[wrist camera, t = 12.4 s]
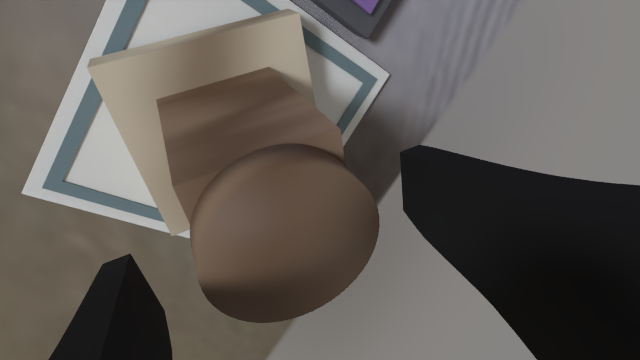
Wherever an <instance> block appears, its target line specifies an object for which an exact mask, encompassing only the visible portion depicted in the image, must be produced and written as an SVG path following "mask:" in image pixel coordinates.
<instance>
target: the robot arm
mask: <svg viewBox="0 0 640 360" xmlns="http://www.w3.org/2000/svg"><path fill="white" fill-rule="evenodd" d="M400 160H401V177H402V195H403V210H404V212H405V213H406V214H407V216H408V217H409V219H410V220H411V221H412V222H413V224H414V225H415V226H416V228H417V229H418V230H419V232H420V233H421V234H422V235H423V237H424V238H425V239H426V240H427V241H428V242H429V243H430V244H431V245H432V246H433V247H434V248H435V249H436V250H437V251H438V252H439V253H440V254H441V255H442V256H443V257H444V258H445V259H446V260H447V261H448V262H449V263H451V264H452V265H453V266H454V267H455V268H456V269H457V270H458V271H459V272H460V273H461V274H462V275H463V276H464V277H465V278H466V279H467V280H468V281H469V282H470V283H471V284H472V285H473V286H474V287H475V288H476V289H477V290H478V291H479V292H481V294H482V295H483V296H484V297H485V298H486V299H487V300H488V301H489V302H490V303H491V304H492V305H493V306H494V308H495V309H496V310H497V311H498V312H499V314H500V315H501V316H502V317H503V318H504V320H505V321H506V322H507V323H508V324H509V325H510V327H511V328H512V329H513V330H514V331H515V333H516V334H517V335H518V336H519V337H520V339H521V340H522V341H523V343H524V344H525V345H526V346H527V348H528V349H529V350H530V351H531V353H532V354H533V355H534V356H535V358H536V359H537V360H640V186H639V185H627V184H614V183H605V182H595V181H588V180H581V179H574V178H567V177H560V176H554V175H548V174H543V173H538V172H533V171H528V170H523V169H518V168H514V167H509V166H505V165H501V164H497V163H492V162H488V161H484V160H480V159H477V158H473V157H469V156H464V155H461V154H457V153H453V152H449V151H445V150H441V149H437V148H433V147H428V146H422V145H418V146H415V147H412V148H410V149H407V150H404V151H402V152H400ZM49 360H172V348H171V342H170V336H169V331H168V326H167V321H166V316H165V311H164V309H163V307H162V306H161V304H160V302H159V301H158V299H157V297H156V296H155V294H154V292H153V291H152V289H151V287H150V286H149V284H148V282H147V281H146V279H145V277H144V276H143V274H142V272H141V271H140V269H139V267H138V266H137V264H136V262H135V261H134V259H133V257H132V256H131V254H128V255H125V256H123V257H120V258H118V259H115V260H112V261H110V262H107V263H104V264H103V265H102V266H101V268H100V270H99V272H98V273H97V275H96V277H95V279H94V281H93V283H92V284H91V286H90V288H89V290H88V292H87V294H86V295H85V297H84V299H83V301H82V303H81V305H80V306H79V308H78V310H77V312H76V314H75V316H74V317H73V319H72V321H71V323H70V324H69V326H68V328H67V330H66V331H65V333H64V335H63V337H62V338H61V340H60V342H59V344H58V345H57V347H56V349H55V350H54V352H53V353H52V355H51V357H50V358H49Z"/></svg>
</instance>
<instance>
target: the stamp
mask: <svg viewBox="0 0 640 360" xmlns="http://www.w3.org/2000/svg"><path fill="white" fill-rule="evenodd" d="M87 69H88V71H89V73H90V75H91V77H92V79H93V81H94V83H95V85H96V87H97V89H98V91H99V93H100V95H101V97H102V99H103V101H104V103H105V105H106V107H107V109H108V111H109V113H110V115H111V117H112V119H113V121H114V123H115V125H116V127H117V129H118V131H119V133H120V135H121V137H122V139H123V141H124V143H125V144H126V146H127V148H128V150H129V152H130V154H131V156H132V158H133V160H134V162H135V164H136V166H137V168H138V170H139V172H140V174H141V176H142V178H143V180H144V182H145V184H146V186H147V188H148V190H149V192H150V194H151V196H152V198H153V200H154V202H155V204H156V206H157V208H158V210H159V212H160V214H161V216H162V218H163V220H164V222H165V224H166V226H167V228H168V230H169V232H170V234H171V236H174V235H177V234H179V233H182V232H185V231H187V230H190V242H191V247H192V252H193V257H194V261H195V266H196V271H197V275H198V280H199V283H200V286H201V289H202V291H203V293H204V294H205V296H206V298H207V299H208V300H209V301H210V303H211V304H212V305H213V306H214V307H216V308H217V309H218V310H220V311H221V312H222V313H224V314H226V315H228V316H230V317H233V318H236V319H238V320H243V321H247V322H256V323H270V322H278V321H284V320H288V319H292V318H296V317H299V316H302V315H304V314H306V313H309V312H311V311H314V310H315V309H317V308H319V307H321V306H323V305H324V304H326V303H328V302H329V301H331V300H332V299H334V298H335V297H336V296H338V295H339V294H340V293H341V292H343V291H344V290H345V289H346V288H347V287H348V286H349V285H350V284H351V283H352V282H353V281H354V280H355V279H356V278H357V277H358V275H359V274H360V273H361V272H362V270H363V269H364V267H365V266H366V264H367V263H368V261H369V259H370V257H371V255H372V253H373V250H374V248H375V245H376V241H377V238H378V232H379V214H378V208H377V205H376V202H375V200H374V198H373V196H372V194H371V193H370V191H369V190H368V189H367V188H366V187H365V185H364V184H363V183H362V182H361V181H360V180H359V179H358V178H357V177H356V176H355V175H354V174H353V173H352V172H351V171H350V170H349V169H348V168H347V167H346V165H345V158H344V151H343V144H342V137H341V130H340V128H339V127H337V126H336V125H335V124H334V123H333V122H332V121H331V120H329V119H328V118H327V117H326V116H325V115H324V114H322V113H321V112H320V111H319V110H318V109H317V108H316V105H315V99H314V94H313V88H312V82H311V77H310V71H309V65H308V60H307V54H306V48H305V43H304V37H303V31H302V25H301V20H300V14H299V13H298V12H296V11H293V10H291V9H284V10H280V11H276V12H272V13H268V14H264V15H260V16H256V17H252V18H248V19H244V20H240V21H236V22H233V23H229V24H225V25H221V26H217V27H213V28H209V29H205V30H201V31H197V32H193V33H189V34H185V35H182V36H178V37H174V38H170V39H166V40H162V41H158V42H154V43H150V44H146V45H142V46H138V47H134V48H130V49H127V50H123V51H119V52H115V53H111V54H107V55H103V56H99V57H95V58H91V59H90V60H89V63H88V66H87Z"/></svg>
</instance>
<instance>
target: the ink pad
mask: <svg viewBox="0 0 640 360" xmlns="http://www.w3.org/2000/svg"><path fill="white" fill-rule="evenodd" d="M311 1H312V2H313V3H315V4H316V5H317V6H318V7H320V8H321V9H322V10H324V11H325V12H326V13H328V14H329V15H330V16H332V17H333V18H334V19H335V20H337V21H338V22H339V23H341V24H342V25H343V26H345V27H346V28H347V29H349V30H350V31H351V32H352V33H354V34H356V35H359V36H362V37H364V38H367V39H368V38H369V36H370V34H371V33H372V31H373V30H374V28H375V26H376V25H377V23H378V21H379V20H380V18H381V16H382V15H383V13H384V12H385V10H386V8H387V7H388V5H389V3H390V2H391V0H311Z"/></svg>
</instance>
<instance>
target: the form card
mask: <svg viewBox="0 0 640 360" xmlns="http://www.w3.org/2000/svg"><path fill="white" fill-rule="evenodd" d="M284 9H291V10H293V11H296V12H298V13H299V14H300V20H301V25H302V31H303V37H304V43H305V48H306V54H307V60H308V65H309V71H310V77H311V82H312V88H313V94H314V99H315V105H316V108H317V109H318V110H319V111H320V112H321V113H322V114H324V115H325V116H326V117H327V118H328V119H329V120H331V121H332V122H333V123H334V124H335V125H336V126H337V127H339V128H340V130H341V137H342V144H343V147H344V145H345V144H346V142H347V140H348V139H349V137H350V136H351V134H352V133H353V131H354V129H355V128H356V126H357V125H358V123H359V122H360V120H361V119H362V117H363V115H364V114H365V112H366V111H367V109H368V108H369V106H370V105H371V103H372V101H373V100H374V98H375V97H376V95H377V94H378V92H379V90H380V89H381V87H382V86H383V84H384V83H385V81H386V80H387V78H388V76H389V75H390V74H389V73H388V72H386V71H385V70H383V69H382V68H381V67H379V66H378V65H377V64H375V63H374V62H373V61H371V60H370V59H368V58H367V57H366V56H364V55H363V54H362V53H360V52H359V51H358V50H356V49H355V48H354V47H352V46H351V45H349V44H348V43H347V42H345V41H344V40H343V39H341V38H340V37H339V36H337V35H336V34H335V33H333V32H332V31H330V30H329V29H328V28H326V27H325V26H324V25H322V24H321V23H320V22H318V21H317V20H316V19H314V18H313V17H311V16H310V15H309V14H307V13H306V12H305V11H303V10H302V9H301V8H299V7H298V6H297V5H295V4H294V3H292V2H291V1H290V0H106V2H105V4H104V7H103V9H102V11H101V13H100V16H99V18H98V20H97V22H96V25H95V27H94V29H93V32H92V34H91V36H90V38H89V41H88V43H87V45H86V48H85V50H84V52H83V54H82V57H81V59H80V61H79V63H78V66H77V68H76V70H75V73H74V75H73V77H72V79H71V82H70V84H69V86H68V89H67V91H66V93H65V95H64V98H63V100H62V102H61V104H60V107H59V109H58V111H57V114H56V116H55V118H54V120H53V123H52V125H51V127H50V130H49V132H48V134H47V136H46V139H45V141H44V143H43V145H42V148H41V150H40V152H39V155H38V157H37V159H36V161H35V164H34V166H33V168H32V171H31V173H30V175H29V177H28V180H27V182H26V184H25V186H24V189H23V191H22V193H21V194H25V195H29V196H32V197H36V198H40V199H44V200H47V201H51V202H55V203H59V204H62V205H66V206H70V207H74V208H77V209H81V210H85V211H89V212H92V213H96V214H100V215H104V216H108V217H111V218H115V219H119V220H123V221H126V222H130V223H134V224H138V225H141V226H145V227H149V228H153V229H156V230H160V231H164V232H168V233H170V232H169V230H168V228H167V226H166V224H165V222H164V220H163V218H162V216H161V214H160V212H159V210H158V208H157V206H156V204H155V202H154V200H153V198H152V196H151V194H150V192H149V190H148V188H147V186H146V184H145V182H144V180H143V178H142V176H141V174H140V172H139V170H138V168H137V166H136V164H135V162H134V160H133V158H132V156H131V154H130V152H129V150H128V148H127V146H126V144H125V143H124V141H123V139H122V137H121V135H120V133H119V131H118V129H117V127H116V125H115V123H114V121H113V119H112V117H111V115H110V113H109V111H108V109H107V107H106V105H105V103H104V101H103V99H102V97H101V95H100V93H99V91H98V89H97V87H96V85H95V83H94V81H93V79H92V77H91V75H90V73H89V71H88V69H87V66H88V63H89V60H90V59H91V58H95V57H99V56H103V55H107V54H111V53H115V52H119V51H123V50H127V49H130V48H134V47H138V46H142V45H146V44H150V43H154V42H158V41H162V40H166V39H170V38H174V37H178V36H182V35H185V34H189V33H193V32H197V31H201V30H205V29H209V28H213V27H217V26H221V25H225V24H229V23H233V22H236V21H240V20H244V19H248V18H252V17H256V16H260V15H264V14H268V13H272V12H276V11H280V10H284ZM177 235H179V236H183V237H186V238H190V230H187V231H185V232H182V233H179V234H177Z"/></svg>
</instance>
